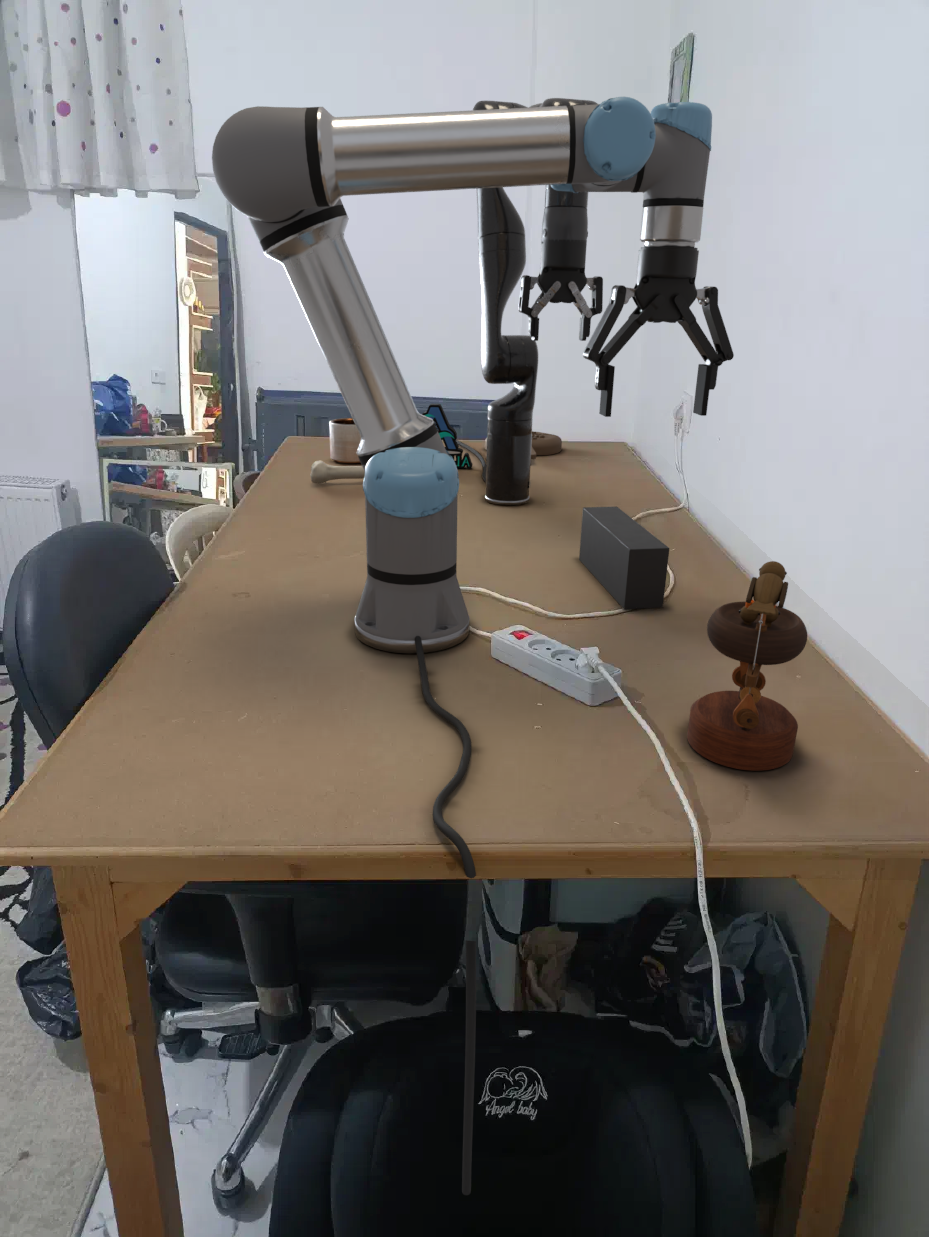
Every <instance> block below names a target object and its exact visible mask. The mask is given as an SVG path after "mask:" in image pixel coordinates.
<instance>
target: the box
mask: <svg viewBox="0 0 929 1237" xmlns="http://www.w3.org/2000/svg"><path fill="white" fill-rule="evenodd" d="M669 555H670V547H669V546H667V545H666V544H665V543H664V542H662V540H660V539H658V537H656V536H655V535H654V534H652V533H651V532H650V531H648V529H646V528H645V527H644V526H643V525H641V524H640V523H639V522H637V521H636V520H635V519H634V518H632V517H631V516H630V515H629V514H627V513H626V512H625V511H623V510H622V509H621V508H619V507H618V506H585V507H582V513H581V528H580V544H579V556H578V560H579V561H580V562H581V563H582V565H583V566H584V567H585V568H586V569H587V570H588V571H589V572H590V573H591V575H592V576H593V577H594V578H595V579H596V580H597V581H598V582H599V584H601V586H602V587H603V588H604V589H605V590H606V591H607V592H608V593H609V594H610V596H612V598H613V599H614V600H615V601H616V602H617V603H618V604H619V605H620V607H622V609H623V610H634V609H635V610H636V609H638V610H639V609H640V610H641V609H658V608H659V609H660V608H664V601H665V592H666V583H667V574H668V566H669V557H670V556H669Z"/></svg>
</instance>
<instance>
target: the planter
mask: <svg viewBox="0 0 929 1237" xmlns="http://www.w3.org/2000/svg"><path fill="white" fill-rule="evenodd" d="M328 424H329V425H328V426H329V453H330V454H329V455H330V456H329V457H330V459H331V460H332V461H333V462H335V463H341V464H361V462H360V460H359V458H358V456H357V450H358V447H359V445H360V442H361V436H360V434H359V431H358V429H357V427H356V425H355V423H354V420H353V418H352V417H342V418H341V417H340V418H335V419H334V418H333V419H331V420H329V421H328Z"/></svg>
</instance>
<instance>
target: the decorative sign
mask: <svg viewBox="0 0 929 1237" xmlns="http://www.w3.org/2000/svg"><path fill="white" fill-rule="evenodd" d="M421 414H422V415H424V416H426V417H429V418H431V419H432V420H433V421H434V423H435V426H436V428H437V430H438V433H439V435H440V438H441V440H442V442H443V445H444V447H445V449H446V450H447V451H448V452H449V455H450V456H452V458H453V460H454V462H455V464H456V466H457V469H465V468H466V469H472V468H473V465H474V464H473V462H472V459H471V456H470V454H469V452H465V453H464V449H463V448H462V447H459V446H460V445H458V444H457V441H456V440H458V433H457V431H456V429H455V428H454V427H453V426H451V424H450V423H449V420H448V418H447V416H446V413H445V411H444V409H443V405H442V404H441V403H430V404H429V405H428V407H427V410H425V411H424V412H422V413H421ZM463 453H464V454H463Z"/></svg>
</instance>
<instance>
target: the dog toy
mask: <svg viewBox="0 0 929 1237" xmlns="http://www.w3.org/2000/svg"><path fill="white" fill-rule="evenodd" d="M309 476H310V480H311V483H313V484H317V485H319V484H324V483H326V482H328V481H335V480H349V479H350V480H351V479H352V480H353V479H354V480H356V479H358V480H361V479H362V480H364V477H365V471H364V469H363V467H362V465H332V464H328V463H326V462H325V461H323V460H316V461H314V462H313V463H312V465H311V467H310V475H309Z"/></svg>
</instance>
